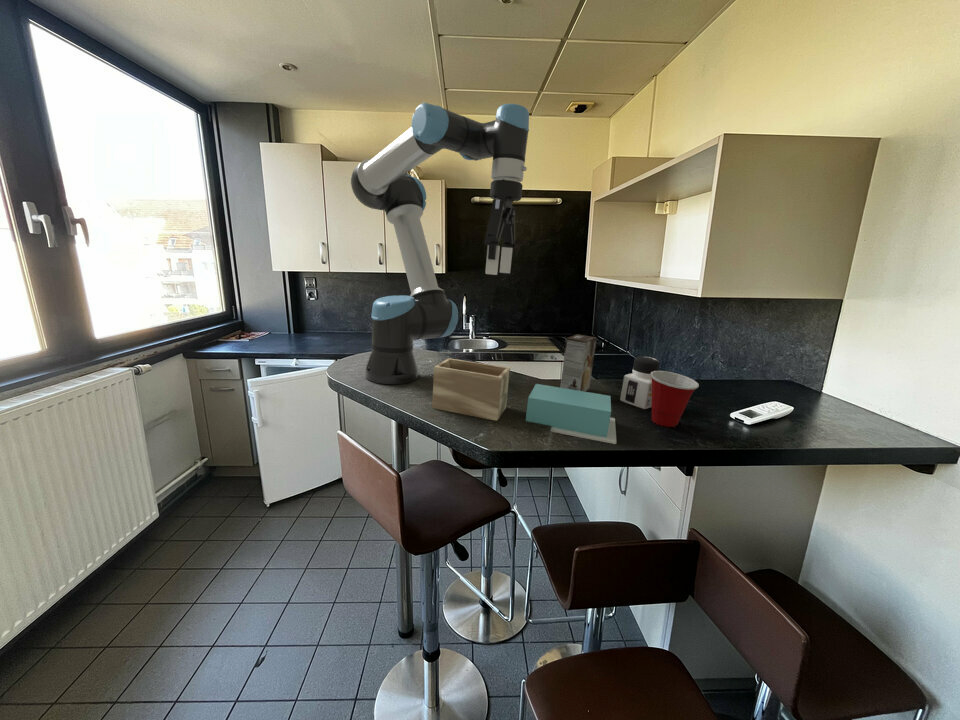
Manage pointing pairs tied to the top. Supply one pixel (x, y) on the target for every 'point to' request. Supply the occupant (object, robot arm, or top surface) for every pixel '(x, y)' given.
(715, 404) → the top surface
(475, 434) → the top surface
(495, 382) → the box
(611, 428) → the mat
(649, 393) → the container
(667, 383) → the plastic cup
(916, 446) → the top surface
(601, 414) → the lid
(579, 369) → the coffee box
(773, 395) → the top surface
